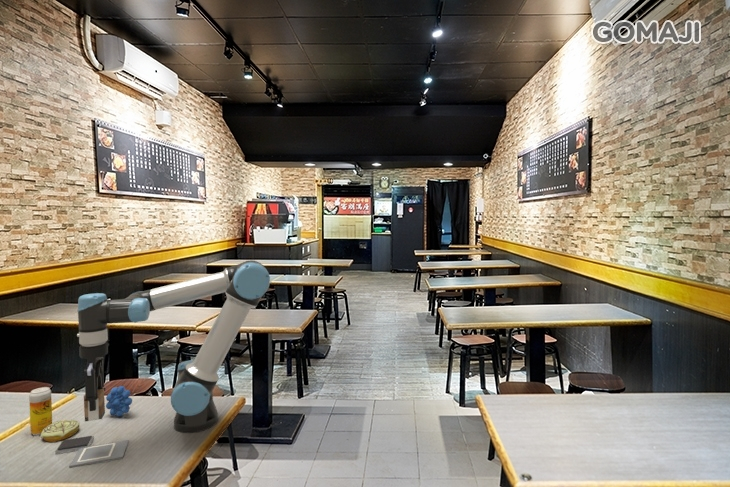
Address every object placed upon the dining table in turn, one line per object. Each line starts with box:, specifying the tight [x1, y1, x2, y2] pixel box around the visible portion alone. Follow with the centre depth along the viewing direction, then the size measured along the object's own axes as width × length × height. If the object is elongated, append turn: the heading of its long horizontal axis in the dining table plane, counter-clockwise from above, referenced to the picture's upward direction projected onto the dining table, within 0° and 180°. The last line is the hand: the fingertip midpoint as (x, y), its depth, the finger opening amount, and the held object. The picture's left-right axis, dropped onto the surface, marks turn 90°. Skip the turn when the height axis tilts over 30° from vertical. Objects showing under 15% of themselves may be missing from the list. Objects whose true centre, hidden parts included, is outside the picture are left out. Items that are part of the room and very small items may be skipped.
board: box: [68, 439, 130, 468], centre depth 132 cm, size 14×11×1 cm
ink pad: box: [54, 435, 95, 455], centre depth 137 cm, size 9×7×1 cm
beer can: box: [28, 386, 53, 436], centre depth 147 cm, size 6×6×15 cm
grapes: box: [105, 385, 133, 418], centre depth 159 cm, size 12×7×12 cm, turn 75°
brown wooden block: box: [83, 389, 106, 422], centre depth 131 cm, size 4×4×8 cm
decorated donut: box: [40, 419, 80, 443], centre depth 145 cm, size 10×11×4 cm
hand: (95, 416), depth 131 cm, fingers closed on brown wooden block, 4 cm apart
